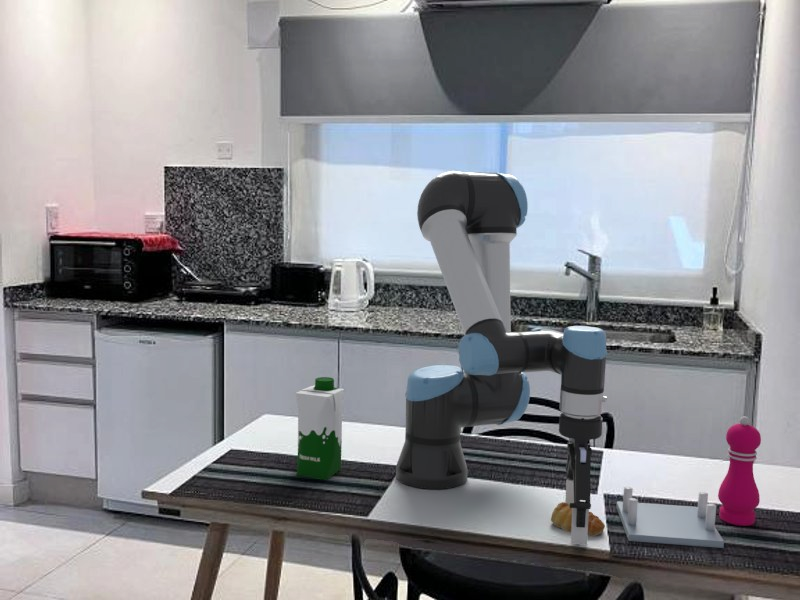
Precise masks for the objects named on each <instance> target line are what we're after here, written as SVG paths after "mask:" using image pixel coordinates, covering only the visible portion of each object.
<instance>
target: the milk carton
mask: <svg viewBox="0 0 800 600" xmlns="http://www.w3.org/2000/svg"><path fill="white" fill-rule="evenodd" d="M344 391H345V389H344V388H339V387H335V379H334V378H333V377H330V376H329V377H327V376H325V377H324V376H321V377H317V378H315V379H314V385H313V384H312V385H310V386H308V387H306V388H302V389H301V390H299V391H297V392H295V397H296V404H297V409H298V410H297V418H298V419H297V460H296V463H297V464H296V465H297V466H296V476H300V477H304V478H305V477H306V478H310V479H317V480H322V479H324V480H323V481H326V480H328V479H330V478H331V477H333V476H334V475H336V474H337V473H339V472H340V471H341V470H342V468H341V467H342V442H343V441H342V440H343V439H342V438H343V407H344V406H343V404H344V403H343V402H344V393H345V392H344ZM338 471H339V472H338ZM335 473H336V474H335ZM329 477H330V478H329Z"/></svg>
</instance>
